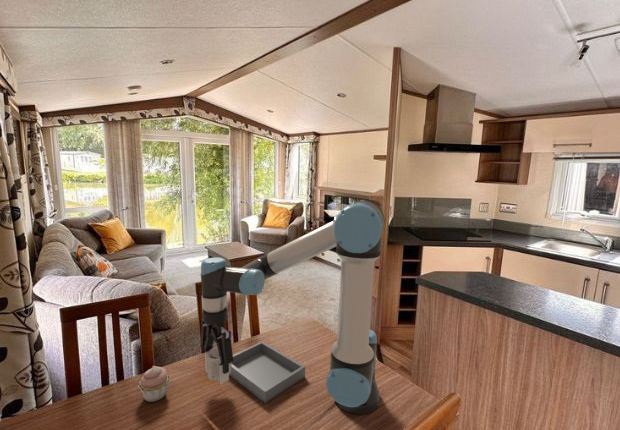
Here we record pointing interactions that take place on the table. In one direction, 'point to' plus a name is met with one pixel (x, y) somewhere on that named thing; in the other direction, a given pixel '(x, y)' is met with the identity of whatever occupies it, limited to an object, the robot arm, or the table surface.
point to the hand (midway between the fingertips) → (217, 375)
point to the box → (265, 371)
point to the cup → (215, 364)
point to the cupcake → (154, 384)
